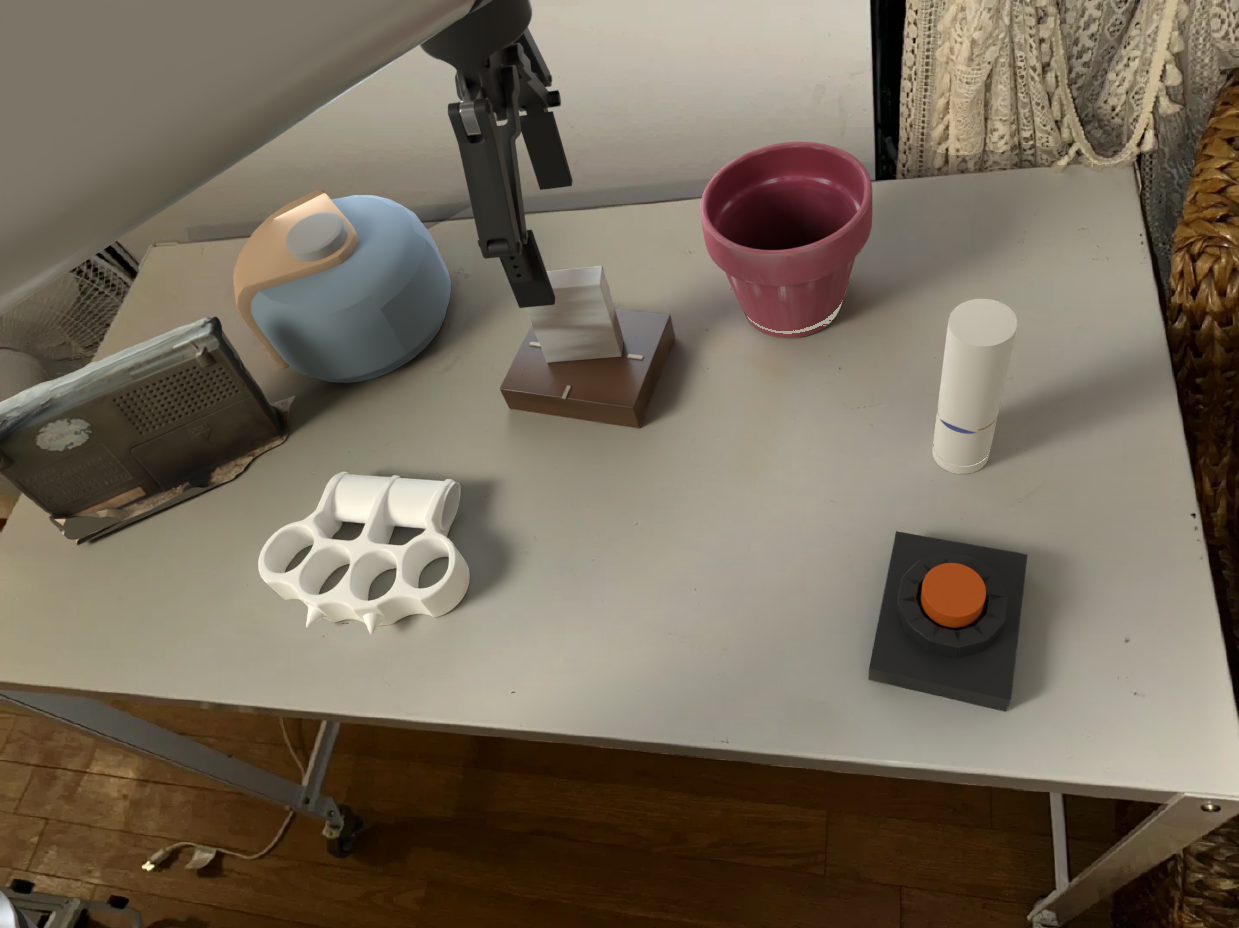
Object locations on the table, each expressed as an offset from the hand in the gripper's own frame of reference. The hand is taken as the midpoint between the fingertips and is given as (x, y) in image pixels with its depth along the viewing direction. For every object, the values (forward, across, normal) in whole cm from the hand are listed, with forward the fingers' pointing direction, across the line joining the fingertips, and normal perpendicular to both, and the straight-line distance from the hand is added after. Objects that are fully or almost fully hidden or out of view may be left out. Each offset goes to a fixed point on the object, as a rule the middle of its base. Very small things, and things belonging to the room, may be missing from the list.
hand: (547, 241), depth 72 cm
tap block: (+17, -1, 0) cm, 17 cm away
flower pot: (+17, -7, +18) cm, 26 cm away
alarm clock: (+17, -11, -25) cm, 32 cm away
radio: (+17, +7, -40) cm, 44 cm away
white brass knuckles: (+17, +18, -17) cm, 31 cm away
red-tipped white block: (+14, -1, 0) cm, 14 cm away
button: (+13, +26, +28) cm, 40 cm away
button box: (+17, +26, +28) cm, 41 cm away
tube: (+17, +11, +31) cm, 37 cm away
